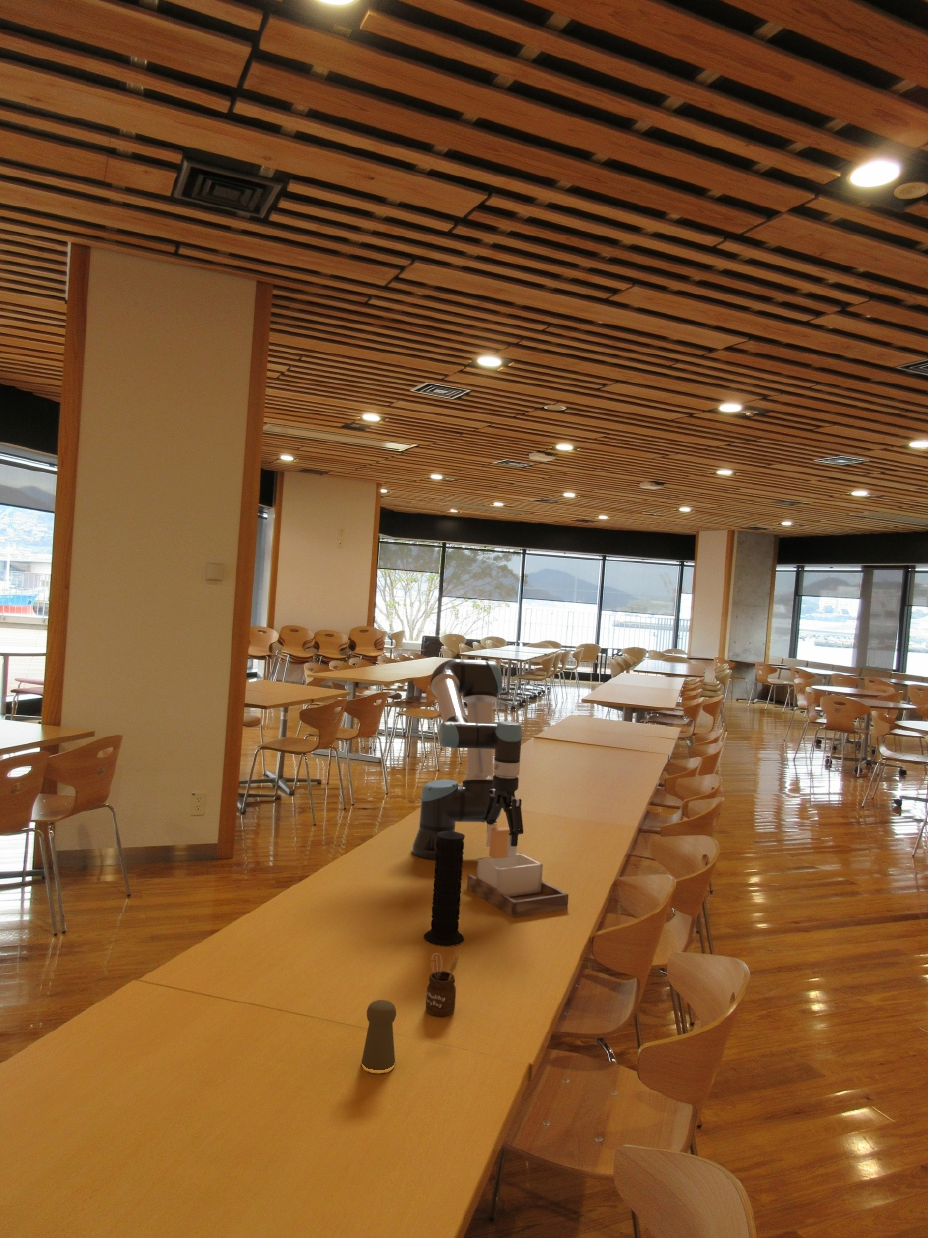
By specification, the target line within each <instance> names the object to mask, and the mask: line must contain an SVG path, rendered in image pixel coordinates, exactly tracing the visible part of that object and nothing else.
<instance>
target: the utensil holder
mask: <svg viewBox="0 0 928 1238" xmlns="http://www.w3.org/2000/svg"><path fill="white" fill-rule="evenodd" d="M437 955H439V958H440V961H441V963H443V962H444V961H443V959H441V958H442V956H441V954H440V953H438V952H435V953H433V954H432V955H431V958H430V959H434V957H435V956H437ZM459 957H460V956H459V955H457V956H455V957H453V958H452V961H451V964H450V967H449V971H444V970H443V969H444V968H443V964H440V969H439V970H438V969H436V971H435V968H434V965H433V963H431V964H430V965H431V967H432V968H431V969H432V973H430V974H429V979H428V982H429V983H428V984H427V987H426V995H425V1009H426V1012H427V1013H428V1014H429V1015H431V1016H434V1017H441V1018H442V1017H449V1016H451V1015H452V1014H453V1013H454V1011H455V1010H456V998H457V997H456V995H457V989H456V985H455V984H456V983H455V982H456V978H455V975H454V974H453V972H454V971H455V970H456V968H457V965H458V964H457V963H458V959H459ZM435 959H436V961H438V957H436V958H435ZM432 965H433V966H432ZM438 966H439V965H438V963H436V968H439V967H438Z"/></svg>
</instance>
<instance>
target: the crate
mask: <svg viewBox="0 0 928 1238" xmlns="http://www.w3.org/2000/svg"><path fill="white" fill-rule="evenodd" d="M513 831H514V829H513ZM509 833H510V830H509V826H501V827H497V828H491V836H490V847H489V851H488V852H489V855H488V856H486V857H484V856H483V857H478V858H477V867H476V878H478V879H479V880H481V881H483V882H484V883H486V884H488V885H489V886H491V887H493V888H494V889H496V890H498V891H500V892H501V893H503V894H505V895H506V896H508V897H511V896H518V895H525V894H531V893H538V892H541V885H542V881H543V870H544V869H543V867H544V863H541V862H539V861H537V860H535V859H534V858H531V857H529V856H527V855H525V854H523V853H520V852H518V853H516V857H510V858H508V857H507V846H508V834H509Z"/></svg>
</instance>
